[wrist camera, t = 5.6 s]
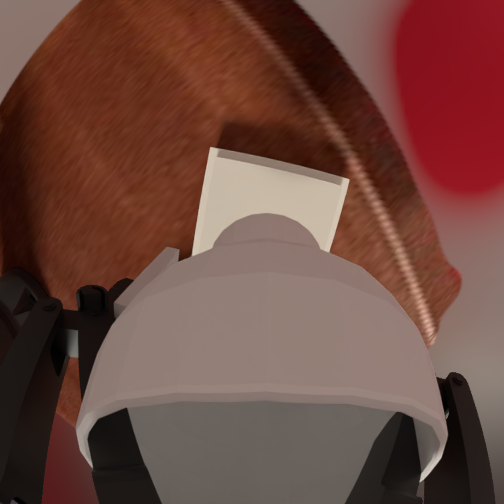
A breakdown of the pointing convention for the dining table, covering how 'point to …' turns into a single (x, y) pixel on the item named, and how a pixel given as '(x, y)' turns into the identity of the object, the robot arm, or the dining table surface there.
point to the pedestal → (266, 195)
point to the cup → (263, 372)
